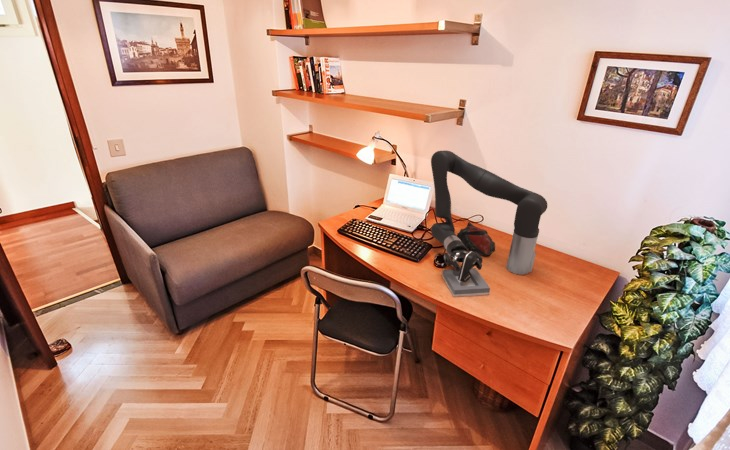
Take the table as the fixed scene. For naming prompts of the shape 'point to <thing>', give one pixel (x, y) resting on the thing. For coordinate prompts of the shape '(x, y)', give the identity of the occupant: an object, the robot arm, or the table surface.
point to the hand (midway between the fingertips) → (469, 268)
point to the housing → (465, 283)
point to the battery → (467, 266)
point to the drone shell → (476, 240)
